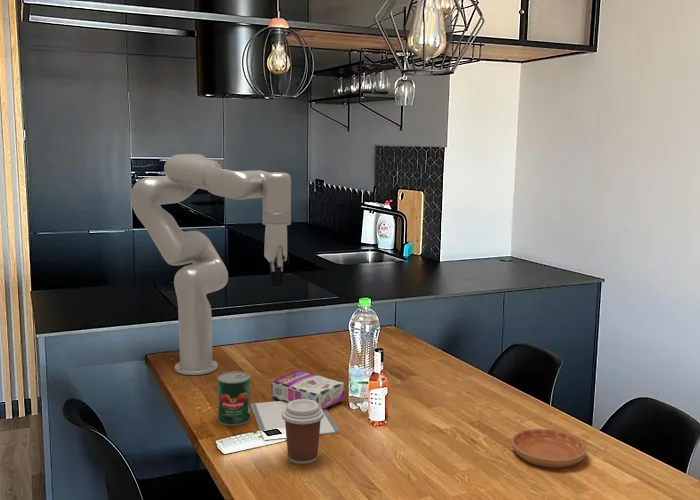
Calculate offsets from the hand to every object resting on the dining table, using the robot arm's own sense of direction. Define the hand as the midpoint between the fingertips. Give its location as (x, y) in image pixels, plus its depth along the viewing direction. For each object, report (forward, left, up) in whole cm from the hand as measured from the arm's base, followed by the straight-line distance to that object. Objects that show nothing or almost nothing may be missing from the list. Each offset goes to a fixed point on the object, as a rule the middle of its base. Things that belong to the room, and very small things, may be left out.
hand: (276, 285), depth 187 cm
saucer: (+56, +51, -29) cm, 81 cm away
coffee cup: (+44, -2, -29) cm, 53 cm away
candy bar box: (+6, +1, -26) cm, 27 cm away
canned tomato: (+20, -14, -29) cm, 38 cm away
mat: (+23, 0, -29) cm, 37 cm away
